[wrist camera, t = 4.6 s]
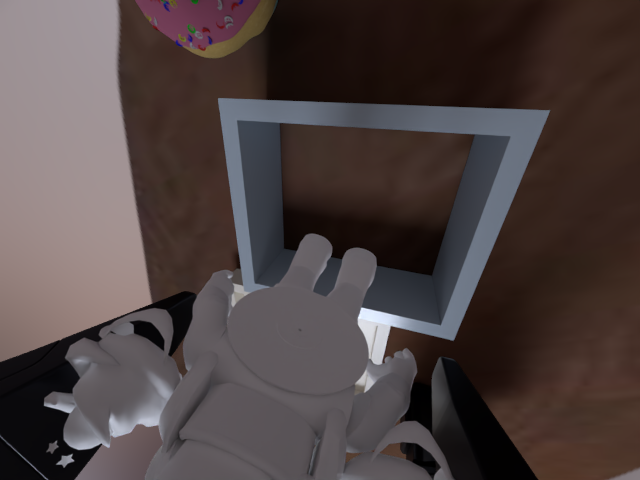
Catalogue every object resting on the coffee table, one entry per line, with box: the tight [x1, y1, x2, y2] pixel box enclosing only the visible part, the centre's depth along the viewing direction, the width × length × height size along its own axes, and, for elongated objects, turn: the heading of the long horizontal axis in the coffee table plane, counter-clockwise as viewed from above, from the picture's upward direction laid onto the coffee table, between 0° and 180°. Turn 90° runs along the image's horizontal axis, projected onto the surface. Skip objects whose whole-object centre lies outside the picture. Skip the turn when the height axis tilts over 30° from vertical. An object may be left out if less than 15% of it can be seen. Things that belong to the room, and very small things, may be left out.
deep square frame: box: [218, 98, 550, 341], centre depth 17 cm, size 15×13×6 cm
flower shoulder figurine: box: [44, 234, 455, 480], centre depth 7 cm, size 9×4×12 cm, turn 76°
